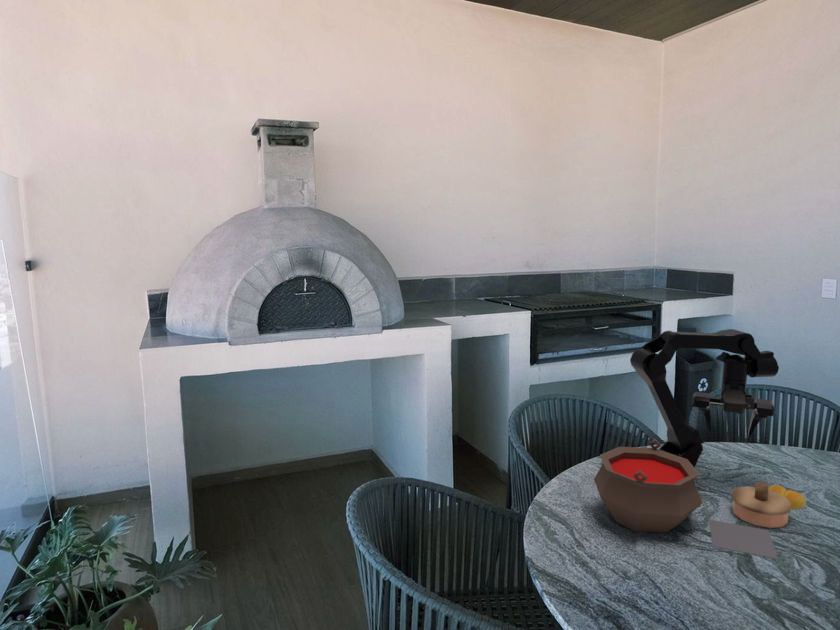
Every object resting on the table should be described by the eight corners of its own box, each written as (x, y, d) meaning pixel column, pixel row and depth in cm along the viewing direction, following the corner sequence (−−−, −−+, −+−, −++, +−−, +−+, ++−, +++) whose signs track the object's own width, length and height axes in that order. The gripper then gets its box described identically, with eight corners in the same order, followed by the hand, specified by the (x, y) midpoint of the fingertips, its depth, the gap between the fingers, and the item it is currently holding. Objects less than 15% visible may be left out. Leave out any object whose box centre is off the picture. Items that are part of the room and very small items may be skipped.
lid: (734, 508, 133) (735, 490, 132) (729, 486, 144) (731, 469, 143) (795, 519, 128) (797, 500, 127) (785, 496, 139) (787, 478, 138)
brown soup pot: (603, 487, 152) (606, 427, 150) (704, 509, 141) (709, 445, 138) (579, 528, 132) (582, 461, 129) (695, 559, 120) (701, 485, 117)
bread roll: (799, 516, 138) (801, 500, 137) (758, 502, 144) (760, 487, 144) (810, 505, 143) (812, 490, 142) (770, 492, 150) (772, 477, 149)
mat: (712, 549, 124) (712, 545, 123) (708, 522, 134) (709, 519, 134) (777, 562, 119) (777, 558, 119) (768, 533, 130) (768, 530, 130)
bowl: (735, 524, 134) (736, 508, 133) (730, 503, 144) (732, 488, 143) (790, 534, 129) (792, 518, 129) (782, 511, 139) (783, 496, 139)
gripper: (695, 381, 148) (690, 439, 151) (779, 390, 140) (773, 451, 143) (695, 371, 158) (690, 425, 161) (774, 379, 150) (768, 436, 153)
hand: (729, 434), depth 154 cm, fingers open, 9 cm apart
